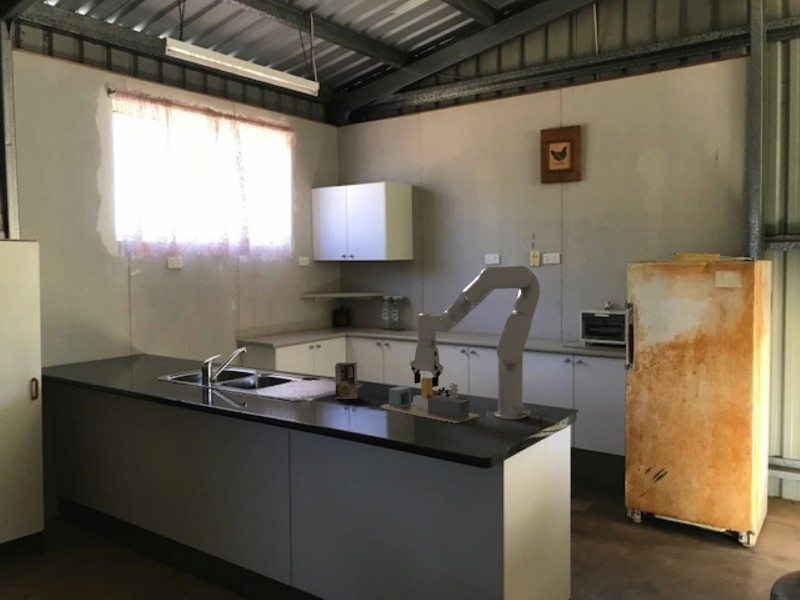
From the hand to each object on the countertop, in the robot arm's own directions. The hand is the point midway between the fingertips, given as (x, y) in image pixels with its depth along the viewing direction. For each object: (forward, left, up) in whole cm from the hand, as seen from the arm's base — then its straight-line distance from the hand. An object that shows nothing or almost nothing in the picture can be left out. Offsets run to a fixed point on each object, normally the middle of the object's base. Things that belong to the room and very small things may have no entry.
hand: (426, 384), depth 262 cm
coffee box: (+45, +4, -12) cm, 46 cm away
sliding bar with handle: (-6, 0, -9) cm, 11 cm away
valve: (+9, -26, -12) cm, 29 cm away
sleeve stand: (-1, 0, -11) cm, 11 cm away
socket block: (+15, 0, -10) cm, 18 cm away
